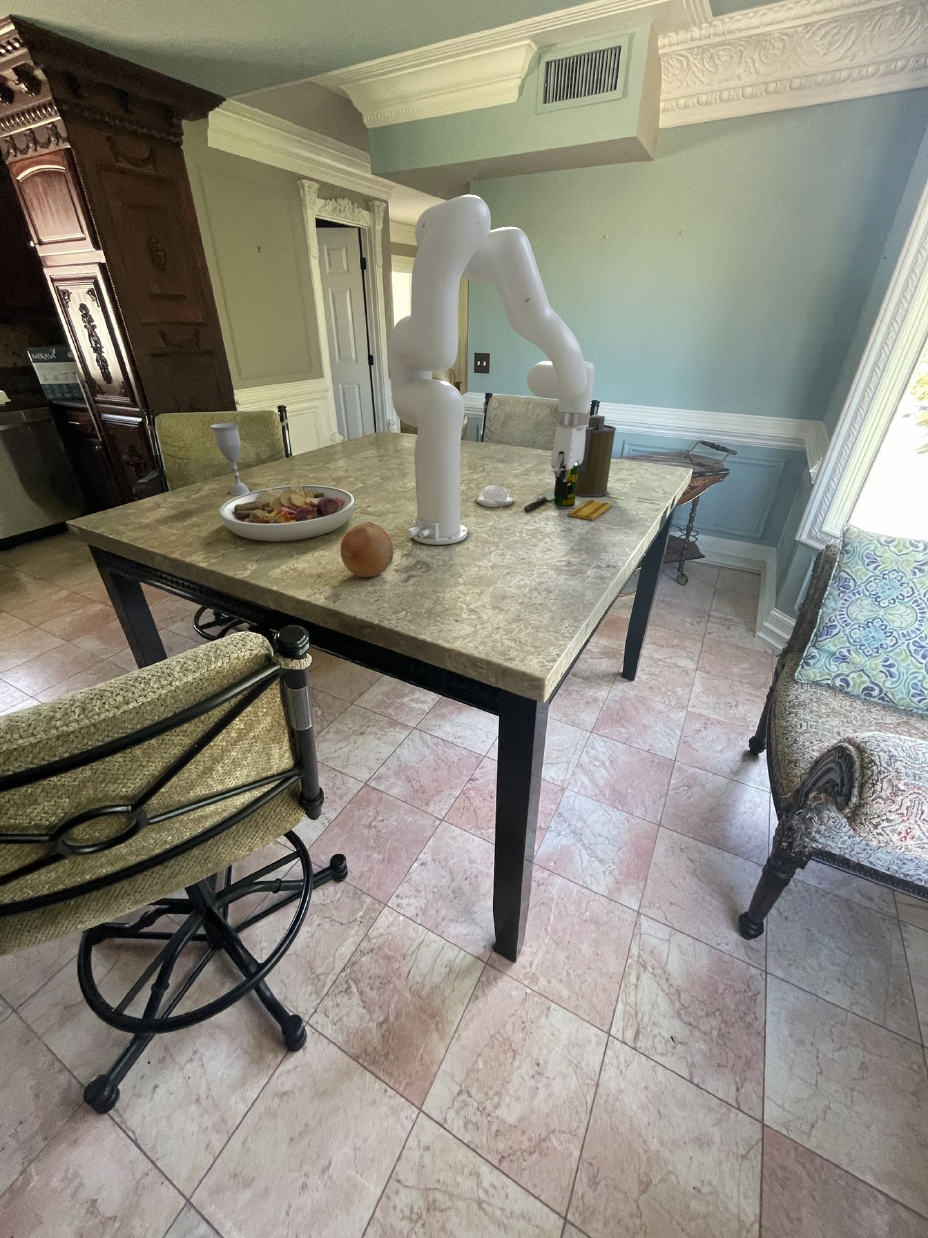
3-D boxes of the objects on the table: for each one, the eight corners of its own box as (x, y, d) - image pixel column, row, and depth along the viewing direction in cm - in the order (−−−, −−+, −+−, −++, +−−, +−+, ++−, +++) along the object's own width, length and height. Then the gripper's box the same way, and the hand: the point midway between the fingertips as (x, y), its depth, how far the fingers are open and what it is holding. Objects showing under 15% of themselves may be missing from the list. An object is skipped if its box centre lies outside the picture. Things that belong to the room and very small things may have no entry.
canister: (578, 484, 149) (587, 412, 138) (612, 490, 143) (623, 415, 133) (562, 493, 141) (570, 417, 131) (597, 499, 136) (608, 421, 126)
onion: (351, 562, 100) (345, 514, 94) (400, 564, 99) (397, 515, 94) (335, 584, 91) (328, 532, 86) (389, 586, 90) (384, 534, 85)
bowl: (195, 533, 113) (185, 499, 109) (288, 498, 137) (282, 468, 133) (298, 556, 102) (291, 519, 98) (380, 513, 126) (377, 482, 122)
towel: (592, 520, 121) (592, 516, 121) (569, 515, 124) (569, 512, 124) (610, 506, 131) (611, 503, 130) (588, 502, 133) (589, 499, 133)
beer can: (549, 505, 132) (553, 458, 126) (565, 502, 134) (570, 455, 128) (562, 510, 128) (566, 462, 122) (578, 507, 130) (584, 460, 124)
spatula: (532, 513, 126) (532, 507, 125) (518, 510, 128) (518, 505, 127) (560, 496, 138) (560, 491, 137) (546, 494, 140) (547, 489, 139)
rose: (487, 478, 137) (520, 483, 133) (487, 494, 140) (519, 500, 135) (470, 487, 130) (503, 493, 126) (470, 504, 132) (503, 510, 128)
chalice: (247, 496, 139) (231, 427, 130) (222, 496, 139) (205, 427, 130) (256, 488, 145) (243, 422, 136) (233, 488, 145) (218, 422, 136)
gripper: (572, 413, 128) (565, 484, 137) (543, 422, 116) (537, 499, 125) (600, 415, 124) (591, 488, 133) (573, 425, 112) (565, 504, 121)
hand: (565, 493), depth 129 cm, fingers closed on beer can, 5 cm apart
